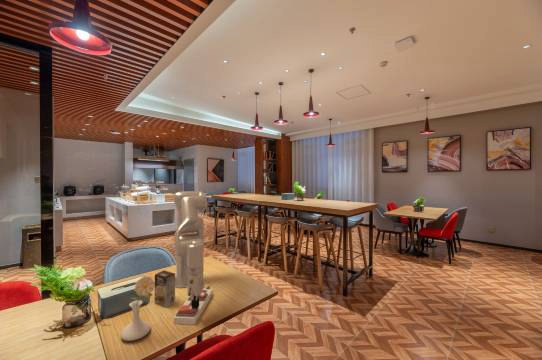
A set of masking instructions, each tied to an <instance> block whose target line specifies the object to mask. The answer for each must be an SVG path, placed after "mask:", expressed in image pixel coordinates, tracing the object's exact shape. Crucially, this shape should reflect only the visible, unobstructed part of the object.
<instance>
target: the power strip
mask: <svg viewBox="0 0 542 360" xmlns="http://www.w3.org/2000/svg"><path fill="white" fill-rule="evenodd" d="M201 292H205V293H206V296H205V297H204V299H199V307H198V308H196V309H195V310H194V312H193V313H187V314H178V311H177V312H176V314H175V315H174V317H173V325H188V326H189V325H190V326H191V325H193V326H195V325H196V323H197V322H198V320H199V318H200V317H201V315H202V314H203V311H204V310H205V308H206V307H207V305H208V303H209V301H210V300H211V298H212V296H213V293H214V289H213V288H211V289H210V285H208V286H207V287H206V288H203V290H202V291H201ZM184 305H191V300H190V296H188V298H187V299H186V301H185V302H184V304H182V306H184Z"/></svg>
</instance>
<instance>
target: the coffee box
mask: <svg viewBox="0 0 542 360" xmlns="http://www.w3.org/2000/svg"><path fill="white" fill-rule="evenodd" d="M175 276H176V273H174V272H171V271H167V270H162V271H159V272H157V273H155V274H154V282H155V285H154V286H155V287H154V304H155V305H158V306H161V307H163V308H168V307H170V306H171V305H173V304H174V303H175V302H176V287H175Z"/></svg>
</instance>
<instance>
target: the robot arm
mask: <svg viewBox="0 0 542 360" xmlns="http://www.w3.org/2000/svg"><path fill="white" fill-rule="evenodd" d="M173 201H174V205H175V207H176V210H177V228H176V230H175V233H174V235H173V236H174V237H173V238H174V239H173V243H174V246H173V247H174V252H175V255H176V275H175V288H178V289H183V288H184V289H185V288H187V296H188V297H190V300H191V308H198V307H199V296H200V293H201V291H202V290H203V289H205V280H204V279H205V278H204V268H205V267H204V264H205V263H204V262H205V261H204V259H205V258H204V250H205V221H204V219H203V217H202V216H200V215H199V214H198V213H199V212H198V211H204V210H207V208H208V199H207V196H206V195H205V193H204V192H203V191H200V190H199V191H197V190H194V191H190V190H189V191H188V190H186V191H183V190H182V191H178V192H175V193H174V194H173Z"/></svg>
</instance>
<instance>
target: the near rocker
mask: <svg viewBox="0 0 542 360" xmlns="http://www.w3.org/2000/svg"><path fill="white" fill-rule="evenodd" d="M183 305H184V304H183ZM183 305H181V306H180V307H179V309H178V310H177V312H178V314H187V313H193V312H194V310H195V309H196V308H191V305H184V306H183Z"/></svg>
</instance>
